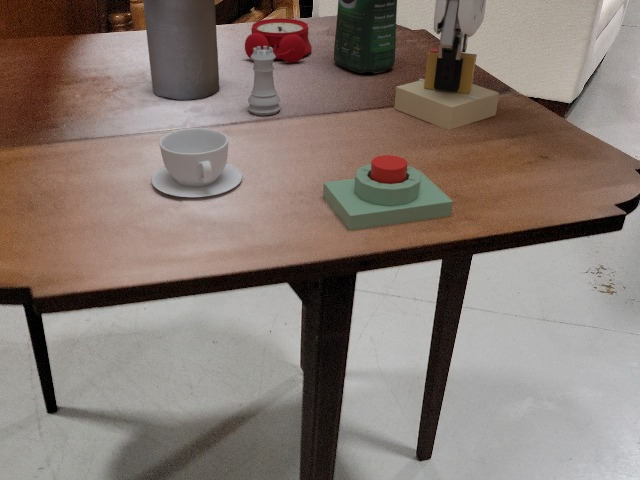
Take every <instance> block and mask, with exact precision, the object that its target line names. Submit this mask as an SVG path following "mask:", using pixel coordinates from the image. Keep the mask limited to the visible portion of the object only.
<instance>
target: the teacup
mask: <svg viewBox="0 0 640 480" xmlns="http://www.w3.org/2000/svg"><path fill="white" fill-rule="evenodd" d="M229 141H230V140H229V137H228V135H226V134H225V133H223V131H220V130H216V129H212V128H206V127H189V128H188V127H187V128H181V129H177V130H174V131H170V132H168V133H166V134H164V135H163V136H162V137H160V139H159V142H158V144H159V145H158V146H159V149H160V154H161V158H162V162H163V165H164V166H162V167H160V168H159V169H157V170H156V171H155V172H154V173H153V175H152V176H151V184H152V186H153V187H154V188H155V189H156V190H158V191H160V192H162V193H164V194H167V195H170V196H174V197H181V198H204V197H205V198H206V197H212V196H217V195H219V194H224V193H226V192H228V191H230V190H232V189H234V188H235V187H237V186H238V185H239V184H240V183H241V181H242V180H243V174H242V171H241V170H240V169H239V168H238V167H236V166H235V165H234V164H231V163H228V156H229V155H228V154H229Z"/></svg>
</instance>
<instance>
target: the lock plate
mask: <svg viewBox="0 0 640 480" xmlns="http://www.w3.org/2000/svg"><path fill="white" fill-rule="evenodd" d="M424 82H425V78H424V79H423V78H418V80H416V81H413V82H409V83H405V84H402V85H397V86H396V87H395V97H394V107H393V108H394V110H396V111H399V112H401V113H404V114H406V115H409V116H411V117H414V118H416V119H419V120H422V121H425V122H426V123H428V124H431V125H433V126H434V125H435V126H437V127H440V128H442V129H445V130H447V131H451V130H453V129H456V128H457V129H458V128H460V127H463V126H466V125H469V124H474V123H477V122H479V121H480V122H481V121H483V120H486V119H489V118H492V117H496V115H497V110H498V103H499V98H500V92H498V91H495V90H492V89H489V88H487V87H483V86H480V85H477V84H475V83H472V89H471V91H470V93H460V92H452V91H443V90H434V89H426V88H424Z"/></svg>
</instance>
